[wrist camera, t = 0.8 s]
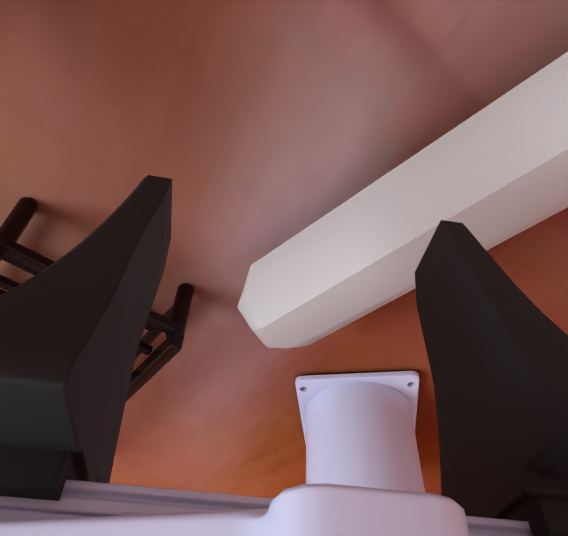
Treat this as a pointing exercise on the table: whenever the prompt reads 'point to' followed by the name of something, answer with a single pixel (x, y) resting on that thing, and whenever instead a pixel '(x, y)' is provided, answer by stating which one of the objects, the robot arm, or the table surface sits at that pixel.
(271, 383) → the table surface
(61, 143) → the table surface
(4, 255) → the shoe rack
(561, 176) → the tube
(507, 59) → the table surface
